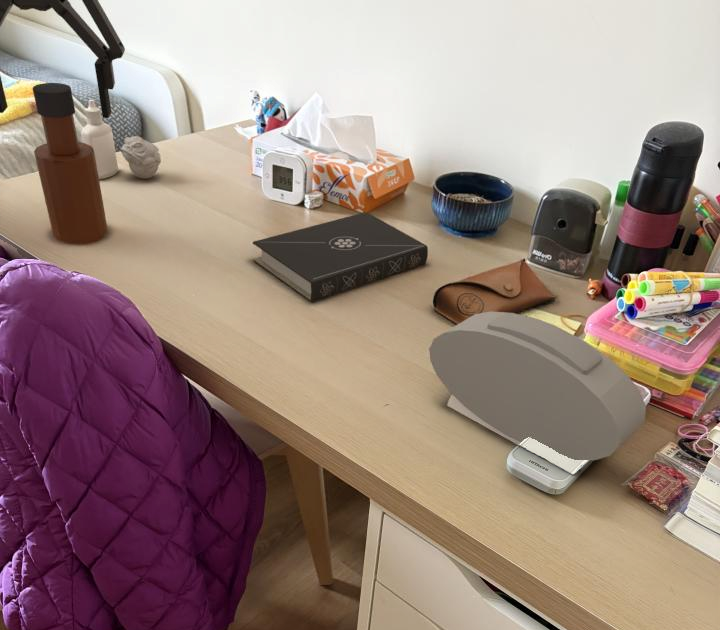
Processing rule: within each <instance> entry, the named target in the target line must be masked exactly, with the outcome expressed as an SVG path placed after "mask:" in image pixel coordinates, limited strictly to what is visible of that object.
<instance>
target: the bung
mask: <svg viewBox="0 0 720 630" xmlns="http://www.w3.org/2000/svg"><path fill="white" fill-rule="evenodd" d="M32 93H33V97H34V102H35V107H36V111H37V114H38V115H40V116H41V115H42V116H45V117H55V118H56V117H66V116H70V115H73V116H74V115H75V113H76V108H75V104H74V103H75V102H74V98H73V91H72V87H71V85H68V84H66V83H61V82H45V83H39V84H35V85H34V86H33V87H32Z"/></svg>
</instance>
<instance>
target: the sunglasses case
mask: <svg viewBox="0 0 720 630" xmlns="http://www.w3.org/2000/svg"><path fill="white" fill-rule="evenodd" d="M556 299H558V296H556V295H554V294H553V293H551V291H550V290H549V289H548V287H546V284H544V282H542V280H541V279H540V278H539V276H538V275H537V274H536V272H535V271H533V270H532V268H531V267H530V266H529V264H528V263H527V262H526V258H522V259H520V260H517V261H515V262H512V263H508V264H506V265H502V266H498V267H495V268H491V269H488V270H486V271H482V272H480V273H477V274H474V275H471V276H468V277H466V278H463V279H461V280H457V281H452V282H448V283H445V284H443V285H441V286H440V287H438V288H437V289H436V291H434V294H433V297H432V305H433V308H434V311H435V312H436V313H438V314H439V315H441V316H442V317H444V318H445V319H446V320H448V321H449V322H451V323H453V324H454V325H455V326H456V325H458V324H459V323H461V322H463V321H465V320H466V319H468V318H470V317H471V316H473V315H475V314H479V313H485V312H507V313H514V314H519V313H521V312H524V311H527V310H530V309H533V308H536V307H538V306H540V305H543V304H546V303H548V302H551V301H553V300H556Z"/></svg>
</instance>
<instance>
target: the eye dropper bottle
mask: <svg viewBox="0 0 720 630" xmlns="http://www.w3.org/2000/svg"><path fill="white" fill-rule="evenodd" d="M84 110H85V117H86V122H87V124H86V125H85V126H84V127H83V128H82V129H81V131H80V134H81V135H80V136H81V143H85V144H87V145H90V146H91V147H92V148H93V149H94V154H95V159H96V165H97V171H98V177H99V180H104V179H108V178H111V177H113V176H115V175H116V174H117V173H118V172H119V165H118V159H117V152H116V145H115V139H114V134H113V129H112V126H111V125H110V124H108V123H105V122H103V116H102V109H101V107H97V105H96V103H95V100H94V99H89V100H88V107H86V108H85V109H84Z"/></svg>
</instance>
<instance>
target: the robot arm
mask: <svg viewBox="0 0 720 630" xmlns="http://www.w3.org/2000/svg"><path fill="white" fill-rule="evenodd" d="M81 1H82V3H83V5H84V6H85V8H86V10H87V12H88V13H89V15H90V18H91V19H92V20H93V22H94V23H95V25H96V27H97V29H98V31H99V33H100V34H101V36H102V38H103V39H104V40H105V42H106V44H107V45H106V44H105V43H104V42H103V40H102V39H101V38H100V37H99V36H98V35H97V34H96V33H95V31H94V30H93V29H92V28H91V27H90V25H89V24H87V22H86V21H85V20H84V18H83V17H82V16H81V15H80V14H79V13H78V12H77V11H76V9H75V8H74V7H73V6H72V4H71V3H70V1H69V0H0V27H1V26H2V25H3V23H4V21H5V20H6V18H7V16H8V14H9V13H10V11H11V10H12V8H13V6H15V7H16V8H18V9H19V10H21V11H22V10H23V11H27V10H28V11H29V10H32V9H33V10H37V11H38V12H47V11H49V10H51V9H52V10H53V11H54V12H55V13H56V14H57V15H58V16H60V18H61V19H62V20H64V22H66V24H67V25H68V26H69V27H70V28H71V29H72V30H73V32H74V33H75V34H76V35H77V36H78V38H80V40H82V42H83V43H84V44H85V45H86V46H87V47H88V49H89V50H90V51H91V52H92V53H93V54H94V55H95V56H96V57H97V58H96V61H95V62H94V70H95V77H96V84H97V89H98V95H99V96H98V97H99V102H100V110H101V116H102V119H109V118H110V115H111V113H112V108H111V100H110V94H109V90H113V89H114V87H115V84H116V82H115V81H116V80H115V74H114V66H113V61H114V60H117V59H121V58H123V56H124V54H125V51H126V48H125V46H124V44H123V42H122V39H121V38H120V36H119V35H118V33H117V31H116V30H115V28H114V26H113V24H112V23H111V20H110V19H109V17H108V16H107V14H106V12H105V10H104V8H103V6H102V5H101V3H100V2H99V0H81ZM8 107H9V106H8V102H7V97H6V93H5V89H4V85H3V81H2V77H1V75H0V114H3V113H4V112H5V111H6V110H7V109H8Z"/></svg>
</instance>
